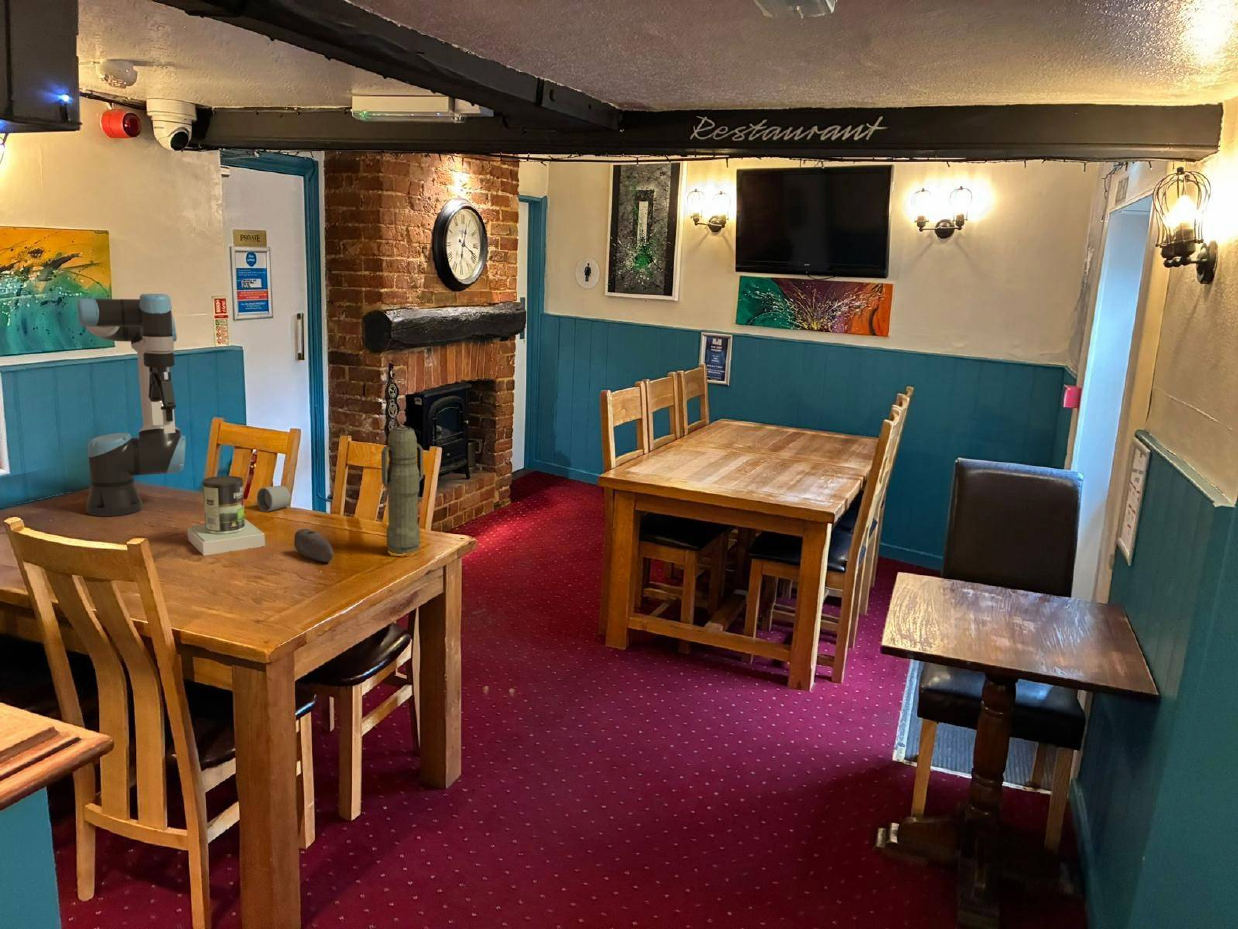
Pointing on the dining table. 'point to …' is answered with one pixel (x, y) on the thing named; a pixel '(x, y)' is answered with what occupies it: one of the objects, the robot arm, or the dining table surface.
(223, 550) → the plinth
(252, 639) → the dining table surface
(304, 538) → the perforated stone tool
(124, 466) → the robot arm
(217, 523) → the coffee can
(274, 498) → the grey cylinder
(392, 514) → the thermos
